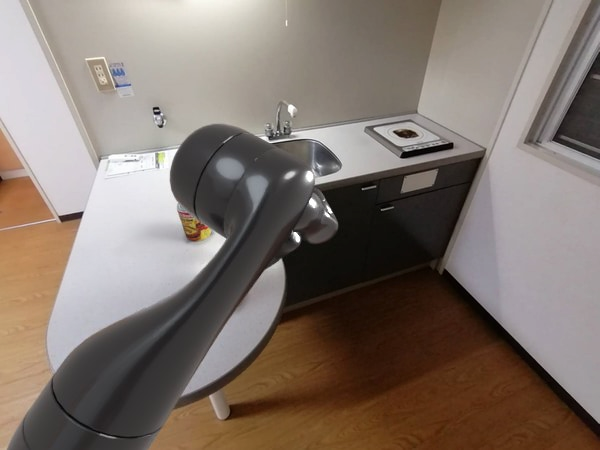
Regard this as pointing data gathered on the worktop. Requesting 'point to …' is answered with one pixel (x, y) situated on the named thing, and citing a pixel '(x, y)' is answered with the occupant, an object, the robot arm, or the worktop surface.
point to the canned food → (192, 226)
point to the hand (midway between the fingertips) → (219, 281)
